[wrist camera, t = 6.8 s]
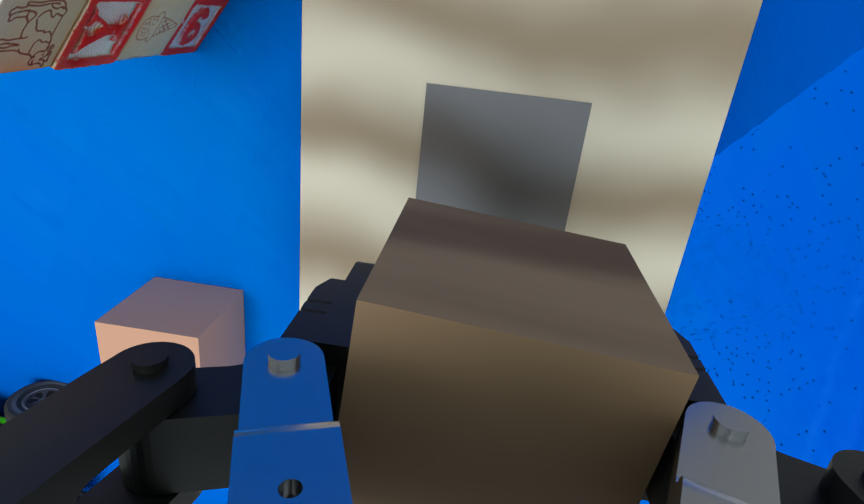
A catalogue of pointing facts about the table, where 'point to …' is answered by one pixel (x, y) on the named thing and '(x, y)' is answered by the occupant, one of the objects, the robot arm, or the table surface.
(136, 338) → the terracotta cube
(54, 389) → the motor vehicle
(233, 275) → the table surface
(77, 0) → the stack of blocks
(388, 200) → the cream flat pad
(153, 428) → the robot arm
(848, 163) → the table surface
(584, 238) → the walnut cube
